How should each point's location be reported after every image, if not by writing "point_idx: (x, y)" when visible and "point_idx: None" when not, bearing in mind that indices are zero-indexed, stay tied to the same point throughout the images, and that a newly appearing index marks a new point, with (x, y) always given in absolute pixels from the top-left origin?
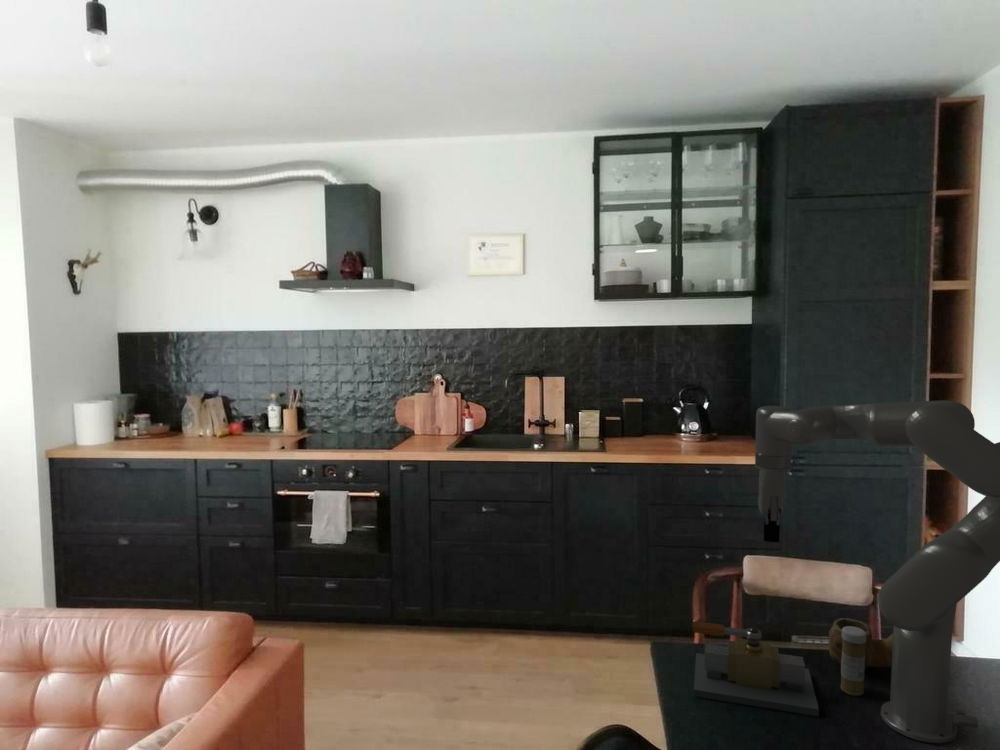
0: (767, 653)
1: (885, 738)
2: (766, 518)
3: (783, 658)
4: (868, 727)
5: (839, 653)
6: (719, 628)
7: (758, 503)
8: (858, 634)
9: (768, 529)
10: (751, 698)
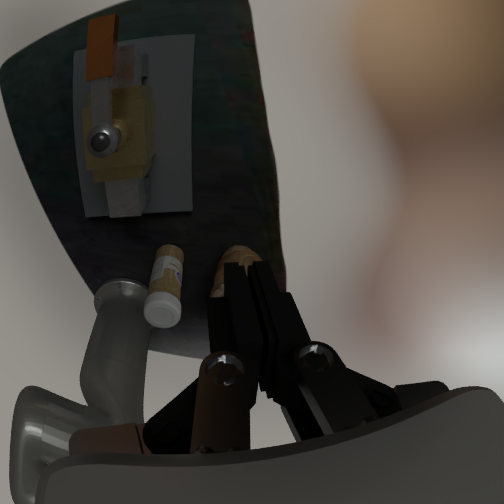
0: (100, 161)
1: (84, 274)
2: (197, 409)
3: (122, 185)
4: (95, 262)
5: (220, 261)
6: (90, 70)
7: (397, 458)
8: (149, 319)
9: (210, 338)
10: (74, 131)
